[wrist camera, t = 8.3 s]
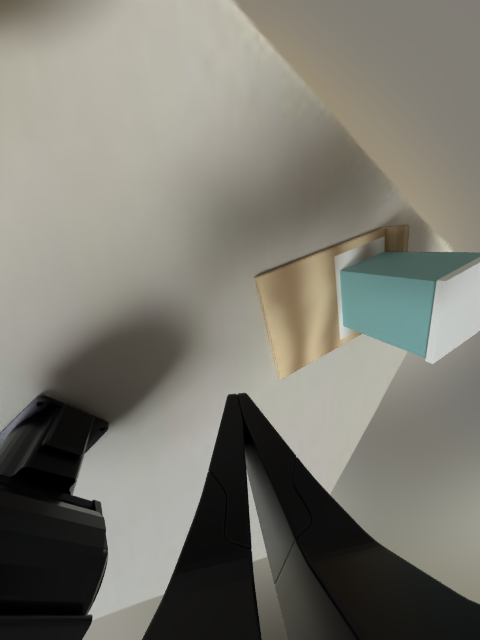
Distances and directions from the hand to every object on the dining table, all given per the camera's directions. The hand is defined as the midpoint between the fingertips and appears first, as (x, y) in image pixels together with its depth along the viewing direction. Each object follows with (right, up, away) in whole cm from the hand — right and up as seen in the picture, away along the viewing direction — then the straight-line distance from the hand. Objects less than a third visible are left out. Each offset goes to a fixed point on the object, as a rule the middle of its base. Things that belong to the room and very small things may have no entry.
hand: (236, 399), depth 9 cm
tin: (+17, +8, +19) cm, 27 cm away
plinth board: (+12, +6, +18) cm, 23 cm away
